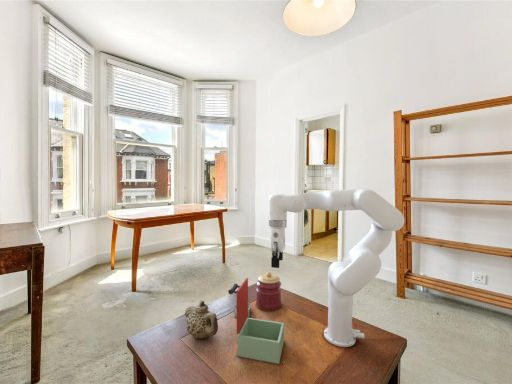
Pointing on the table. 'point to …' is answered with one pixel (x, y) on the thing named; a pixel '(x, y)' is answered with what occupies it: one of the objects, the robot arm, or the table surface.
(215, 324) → the teapot
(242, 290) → the lid
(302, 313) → the table surface
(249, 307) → the egg carton
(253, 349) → the storage box
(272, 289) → the kitchen canister
